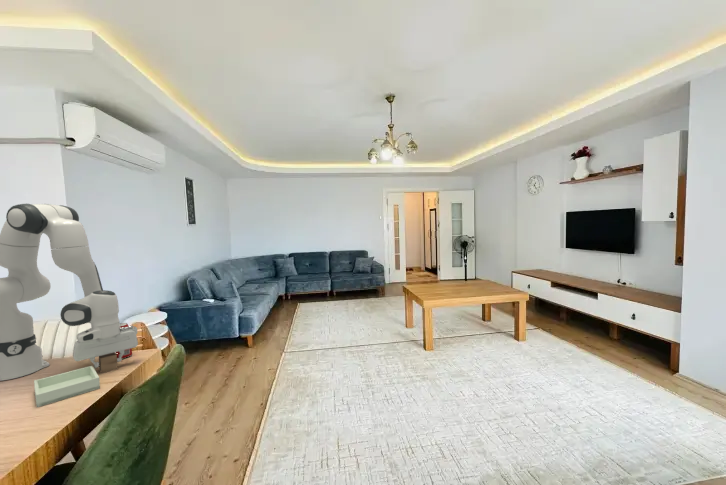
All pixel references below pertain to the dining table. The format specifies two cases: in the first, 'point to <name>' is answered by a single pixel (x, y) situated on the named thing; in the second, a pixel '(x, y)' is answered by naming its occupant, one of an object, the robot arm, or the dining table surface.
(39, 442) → the dining table surface
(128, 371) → the dining table surface
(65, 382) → the bin
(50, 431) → the dining table surface
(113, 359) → the walnut block
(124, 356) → the beverage can
